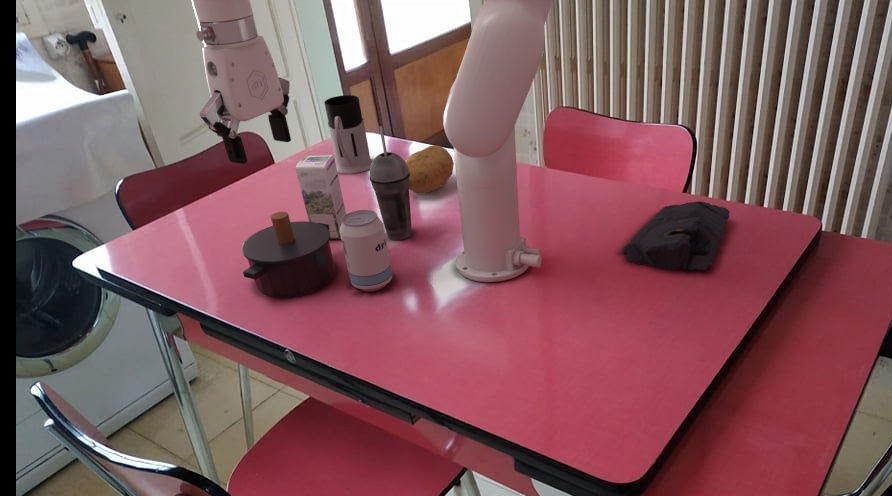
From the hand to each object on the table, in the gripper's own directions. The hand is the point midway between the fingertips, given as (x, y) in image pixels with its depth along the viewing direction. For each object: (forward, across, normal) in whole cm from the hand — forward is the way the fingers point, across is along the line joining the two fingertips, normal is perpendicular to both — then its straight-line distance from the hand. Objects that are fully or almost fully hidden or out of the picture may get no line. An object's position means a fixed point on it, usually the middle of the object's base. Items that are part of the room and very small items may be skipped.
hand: (261, 151), depth 107 cm
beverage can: (+22, +2, -15) cm, 27 cm away
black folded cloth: (+21, +34, -58) cm, 71 cm away
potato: (+22, +39, -3) cm, 45 cm away
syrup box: (+22, +15, +4) cm, 27 cm away
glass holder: (+22, +43, +20) cm, 52 cm away
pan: (+22, -1, -1) cm, 22 cm away
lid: (+15, -1, -1) cm, 15 cm away
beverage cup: (+22, +19, -9) cm, 30 cm away
